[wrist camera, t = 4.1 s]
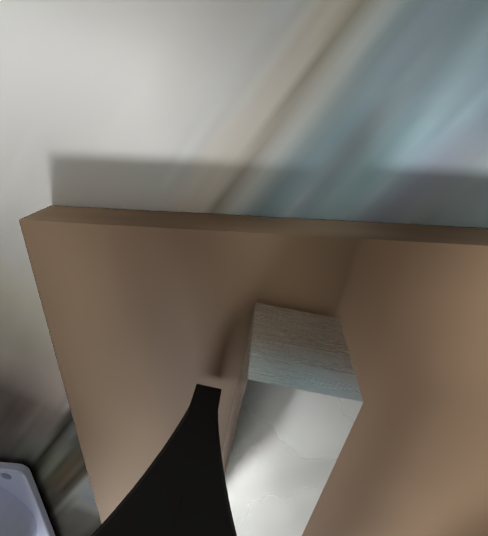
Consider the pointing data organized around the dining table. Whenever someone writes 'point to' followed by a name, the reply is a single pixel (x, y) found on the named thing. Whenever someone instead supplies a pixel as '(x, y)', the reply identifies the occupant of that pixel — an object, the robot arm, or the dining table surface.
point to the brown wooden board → (235, 339)
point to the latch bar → (287, 419)
